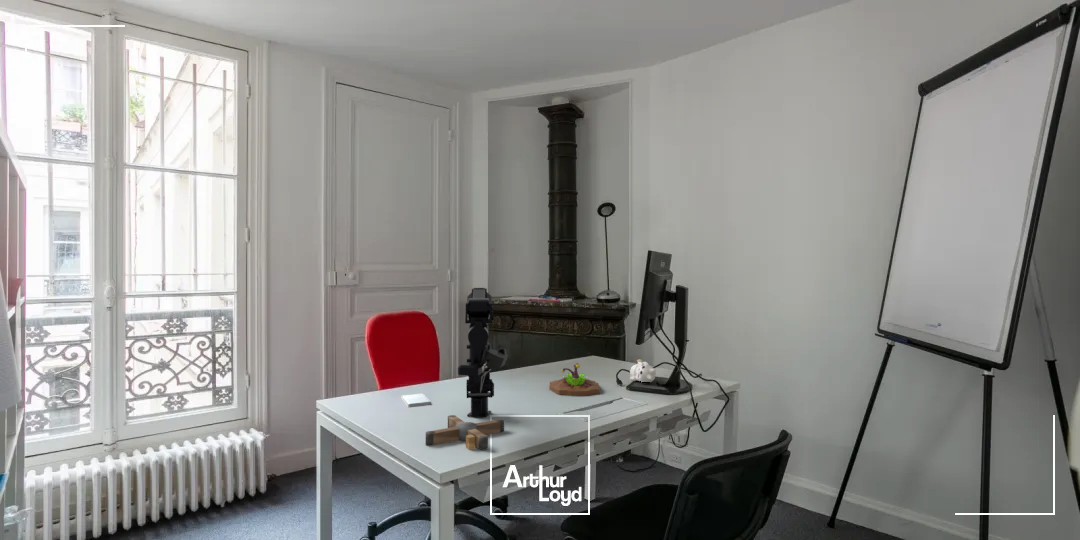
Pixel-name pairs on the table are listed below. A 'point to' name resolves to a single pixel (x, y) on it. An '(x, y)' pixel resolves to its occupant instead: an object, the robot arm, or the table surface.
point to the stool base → (463, 431)
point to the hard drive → (415, 400)
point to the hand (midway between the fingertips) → (478, 392)
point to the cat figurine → (642, 372)
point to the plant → (574, 384)
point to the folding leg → (479, 439)
